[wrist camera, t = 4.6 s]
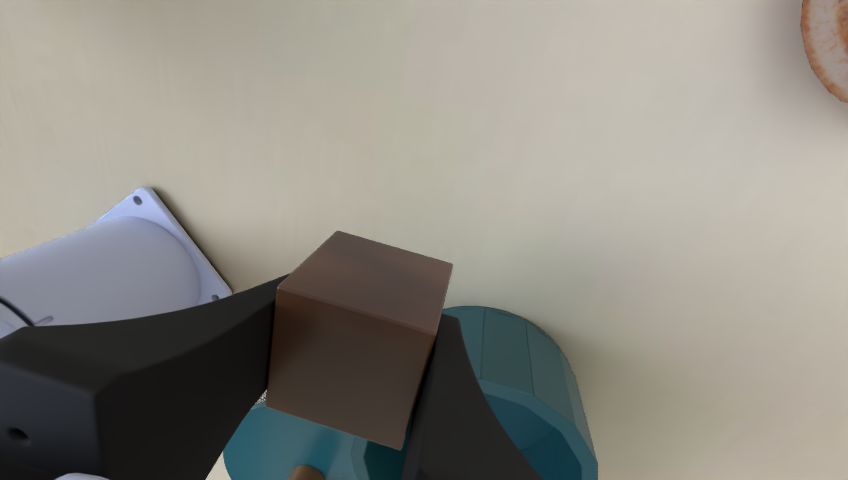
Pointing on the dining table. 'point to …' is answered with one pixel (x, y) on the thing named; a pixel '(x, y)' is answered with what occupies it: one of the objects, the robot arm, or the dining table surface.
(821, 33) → the fruit slice
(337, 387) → the block
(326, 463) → the lid
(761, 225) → the dining table surface
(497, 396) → the tin
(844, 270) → the dining table surface
